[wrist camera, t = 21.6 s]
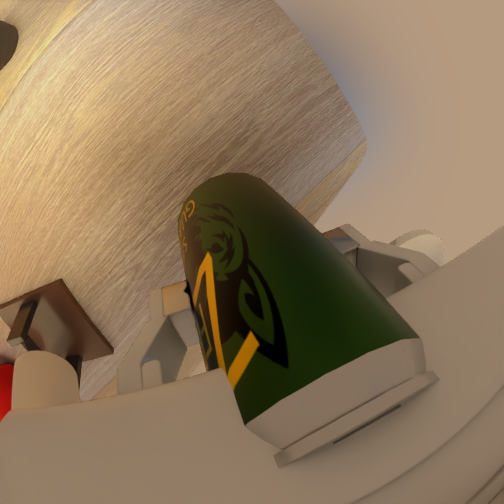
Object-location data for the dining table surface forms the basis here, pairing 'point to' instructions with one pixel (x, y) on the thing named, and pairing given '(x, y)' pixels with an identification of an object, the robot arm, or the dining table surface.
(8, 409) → the tomato
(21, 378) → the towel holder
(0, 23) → the bottle
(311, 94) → the dining table surface
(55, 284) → the holder base
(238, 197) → the beer can
